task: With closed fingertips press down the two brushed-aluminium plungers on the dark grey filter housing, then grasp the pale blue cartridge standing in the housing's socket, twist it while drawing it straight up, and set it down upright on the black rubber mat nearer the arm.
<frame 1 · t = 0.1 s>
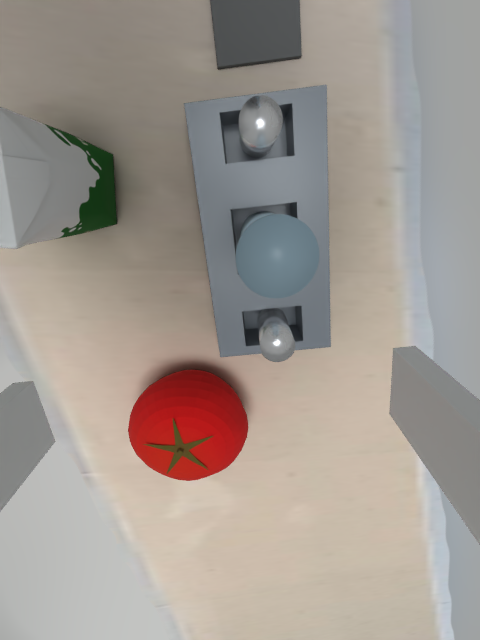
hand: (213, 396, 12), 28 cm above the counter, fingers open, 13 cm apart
mat: (255, 12, 30), on the counter
plunger a: (258, 130, 27), point 8 cm above the counter, slide at 0.0 cm
milk carton: (84, 187, 36), on the counter
plunger b: (274, 332, 33), point 8 cm above the counter, slide at 0.0 cm
cartridge: (263, 234, 36), point 1 cm above the counter, touching housing
housing: (262, 233, 37), on the counter
tomato: (195, 398, 45), on the counter
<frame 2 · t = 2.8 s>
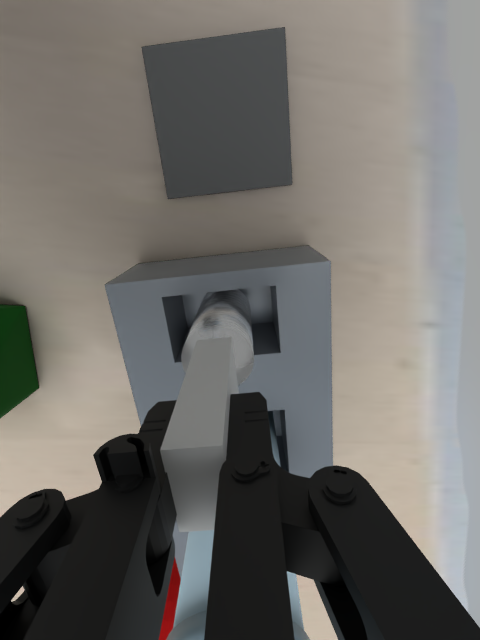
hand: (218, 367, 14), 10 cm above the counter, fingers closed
mat: (222, 122, 20), on the counter
plunger a: (222, 330, 18), point 7 cm above the counter, slide at 0.9 cm, touching gripper
cartridge: (240, 407, 26), point 1 cm above the counter, touching housing
housing: (240, 400, 27), on the counter
tomato: (159, 573, 35), on the counter
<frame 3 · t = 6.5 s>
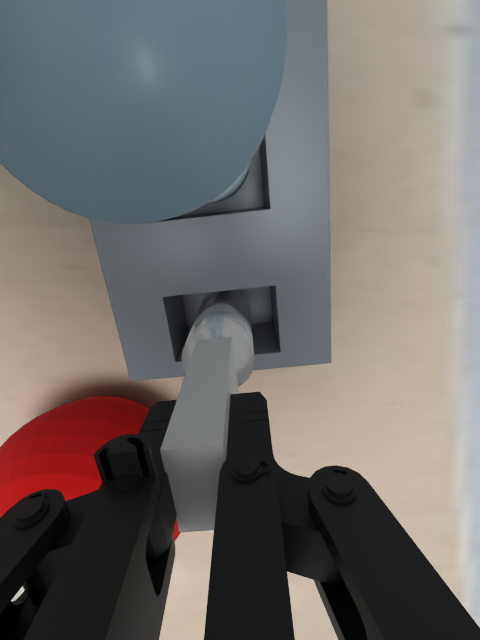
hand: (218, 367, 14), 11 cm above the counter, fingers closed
plunger b: (222, 331, 18), point 7 cm above the counter, slide at 0.8 cm, touching gripper
cartridge: (209, 159, 20), point 1 cm above the counter, touching housing
housing: (211, 161, 21), on the counter
tomato: (120, 437, 29), on the counter
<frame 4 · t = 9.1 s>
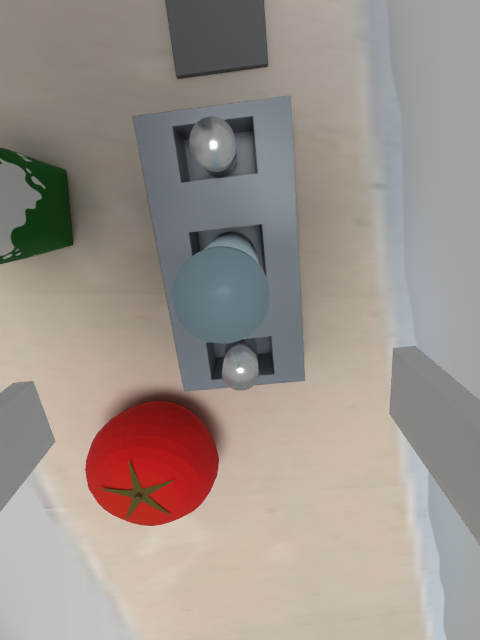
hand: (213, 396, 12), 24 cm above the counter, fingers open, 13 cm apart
mat: (216, 16, 28), on the counter
plunger a: (216, 151, 26), point 6 cm above the counter, slide at 1.9 cm
milk carton: (36, 205, 33), on the counter
plunger b: (240, 357, 32), point 6 cm above the counter, slide at 1.9 cm
cartridge: (231, 256, 33), point 1 cm above the counter, touching housing
housing: (232, 255, 34), on the counter
tomato: (165, 430, 42), on the counter
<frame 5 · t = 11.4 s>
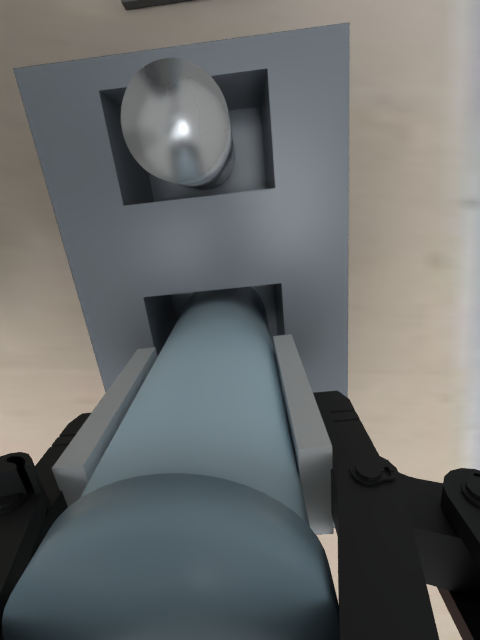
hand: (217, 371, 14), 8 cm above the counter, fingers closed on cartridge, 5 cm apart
plunger a: (192, 143, 13), point 6 cm above the counter, slide at 1.9 cm
cartridge: (225, 317, 20), point 1 cm above the counter, touching gripper, housing
housing: (226, 312, 21), on the counter
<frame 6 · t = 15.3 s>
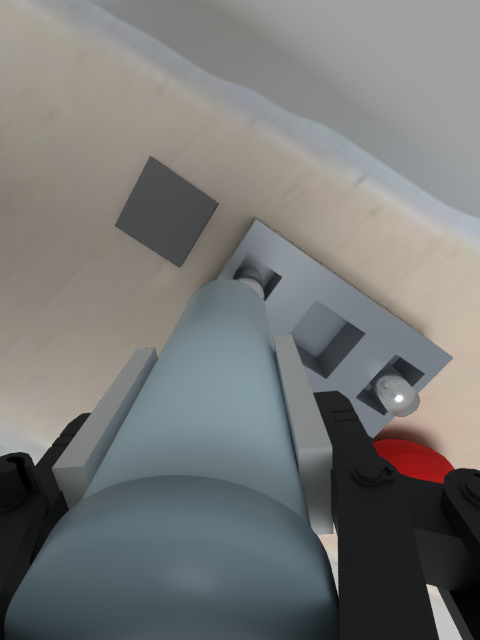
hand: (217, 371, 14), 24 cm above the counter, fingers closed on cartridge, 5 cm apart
mat: (166, 214, 35), on the counter
plunger a: (246, 291, 32), point 6 cm above the counter, slide at 1.9 cm
plunger b: (388, 384, 34), point 6 cm above the counter, slide at 1.9 cm
cartridge: (226, 318, 20), point 17 cm above the counter, touching gripper
housing: (310, 321, 38), on the counter
tomato: (382, 463, 45), on the counter
when the fingers open (9 cm above the counter, at t = 19.2 s): cartridge drops 2 cm, resting on mat.
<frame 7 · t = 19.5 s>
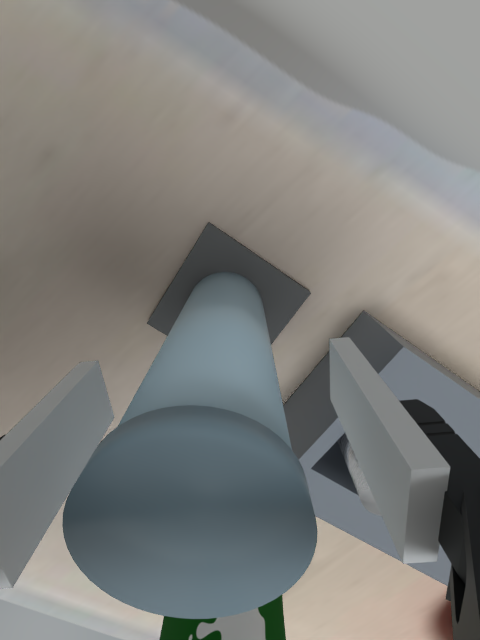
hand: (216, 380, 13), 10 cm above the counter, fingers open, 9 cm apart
mat: (227, 305, 23), on the counter
plunger a: (367, 445, 20), point 6 cm above the counter, slide at 1.9 cm
milk carton: (227, 545, 31), on the counter
cartridge: (225, 308, 22), point 1 cm above the counter, touching mat
housing: (426, 447, 27), on the counter
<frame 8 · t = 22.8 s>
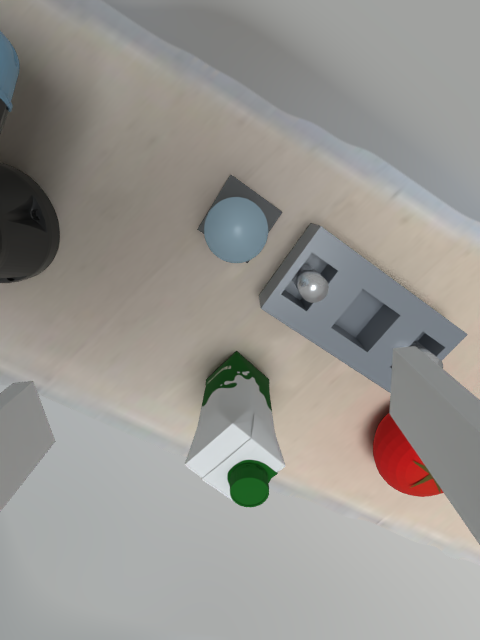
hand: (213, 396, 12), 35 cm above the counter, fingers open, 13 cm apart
mat: (239, 220, 43), on the counter
plunger a: (308, 282, 40), point 6 cm above the counter, slide at 1.9 cm
milk carton: (237, 378, 51), on the counter
plunger b: (415, 356, 43), point 6 cm above the counter, slide at 1.9 cm
cartridge: (238, 220, 43), point 1 cm above the counter, touching mat
housing: (350, 307, 47), on the counter
tomato: (403, 426, 54), on the counter
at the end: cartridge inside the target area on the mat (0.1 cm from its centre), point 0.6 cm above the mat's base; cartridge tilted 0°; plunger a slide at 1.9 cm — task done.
